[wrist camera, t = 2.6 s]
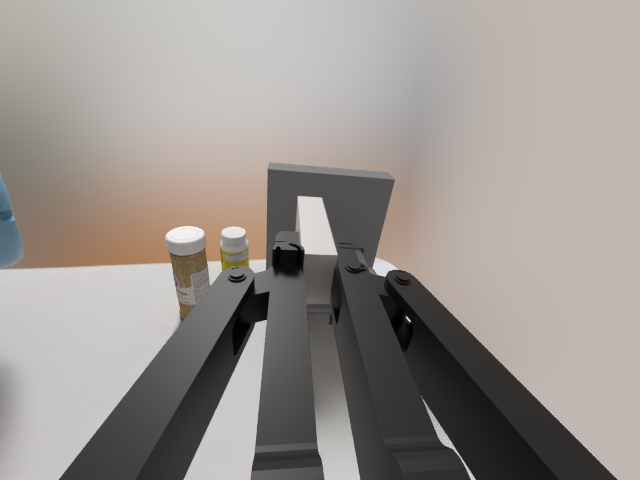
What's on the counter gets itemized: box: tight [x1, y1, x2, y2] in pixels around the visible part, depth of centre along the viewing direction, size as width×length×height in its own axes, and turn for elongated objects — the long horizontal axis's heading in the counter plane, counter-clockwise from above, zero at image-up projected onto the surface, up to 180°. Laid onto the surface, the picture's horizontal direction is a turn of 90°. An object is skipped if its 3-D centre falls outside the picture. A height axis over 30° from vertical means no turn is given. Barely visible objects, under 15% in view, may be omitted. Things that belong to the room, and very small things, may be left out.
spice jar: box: [165, 226, 210, 319], centre depth 38 cm, size 5×5×14 cm
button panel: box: [266, 163, 395, 313], centre depth 41 cm, size 17×7×22 cm, turn 95°
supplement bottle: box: [220, 227, 249, 272], centre depth 48 cm, size 5×5×8 cm
